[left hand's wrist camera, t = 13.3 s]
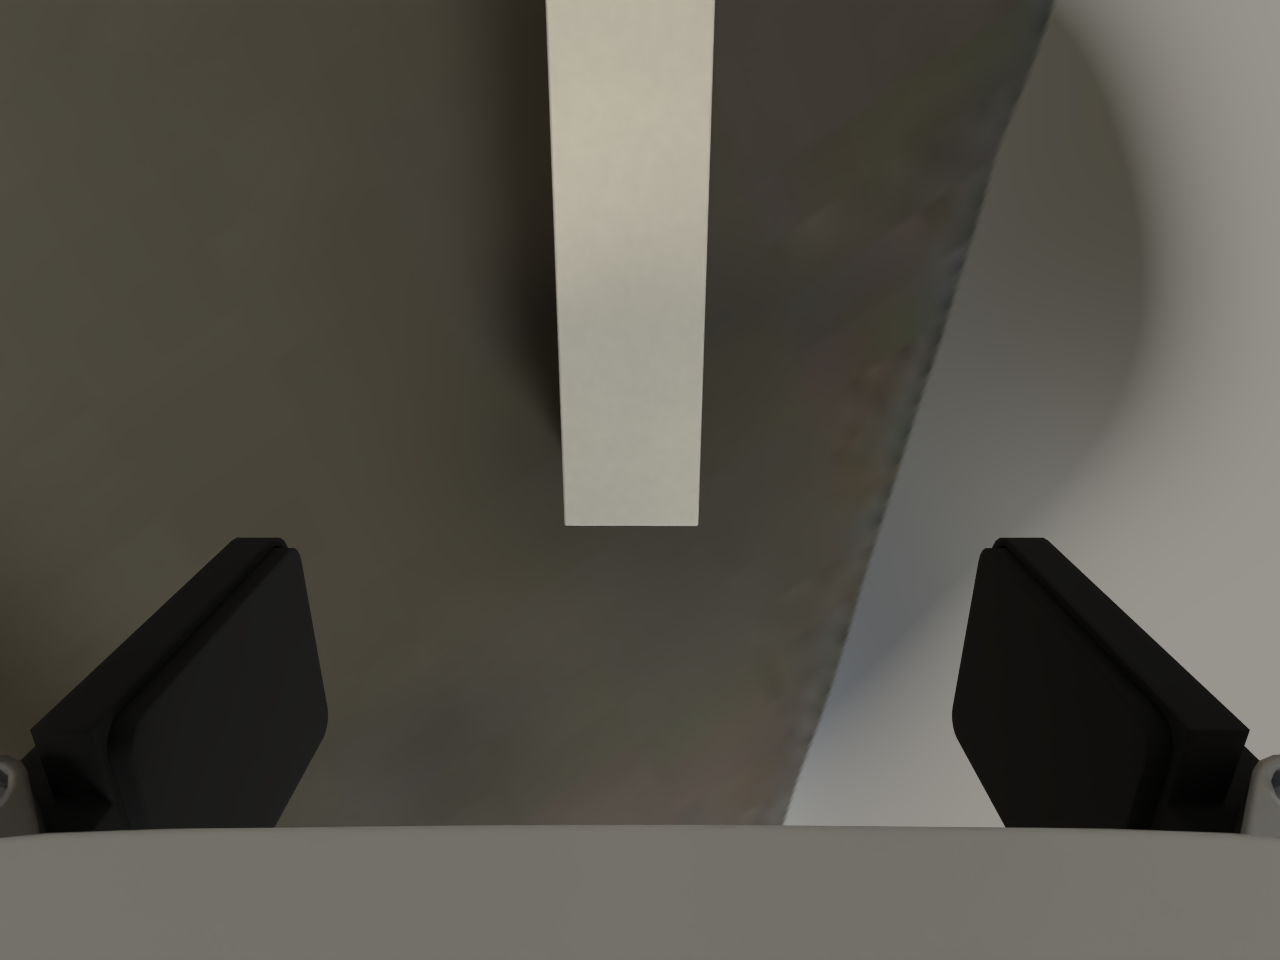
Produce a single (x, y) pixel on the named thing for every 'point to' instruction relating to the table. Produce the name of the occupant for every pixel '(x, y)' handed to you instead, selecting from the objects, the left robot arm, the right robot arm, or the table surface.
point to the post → (630, 252)
